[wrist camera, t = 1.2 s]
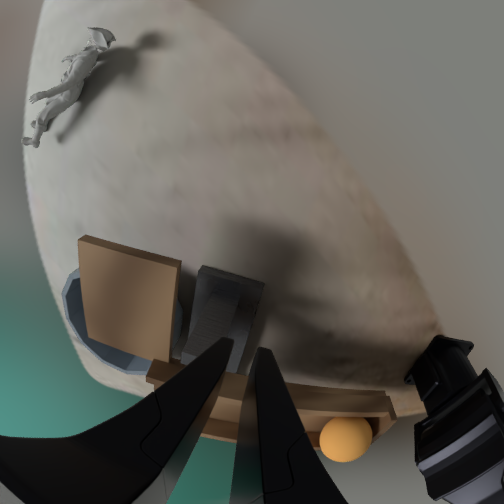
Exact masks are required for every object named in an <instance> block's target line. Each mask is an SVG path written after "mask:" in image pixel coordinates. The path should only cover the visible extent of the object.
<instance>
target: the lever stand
mask: <svg viewBox="0 0 504 504" xmlns="http://www.w3.org/2000/svg"><path fill="white" fill-rule="evenodd" d="M263 287H264V283H262V282H258V281H255V280H251V279H248V278H244V277H241V276H237V275H234V274H230V273H227V272H224V271H220V270H217V269H213V268H210V267H207V266H203V265H202V266H201V268H200V269H199V270H198V276H197V282H196V288H195V294H194V301H193V307H192V314H191V321H190V328H189V335H188V340H187V342H186V344H185V346H184V348H183V350H182V354H181V363H182V364H184V365H188V364H189V363H190V362H191V361H193V360H194V359H195V358H196V357H198V356H199V355H200V354H201V353H203V352H204V351H205V350H206V349H207V348H209V347H210V346H211V345H212V344H214V343H215V342H216V341H217V340H218V339H220V338H221V337H223V336H224V337H228V338H231V339H234V345H233V349H232V352H231V356H230V359H229V363H228V366H227V369H226V372H231V373H236V372H237V369H238V366H239V363H240V360H241V357H242V354H243V351H244V348H245V345H246V342H247V339H248V335H249V332H250V329H251V326H252V323H253V320H254V317H255V314H256V310H257V307H258V304H259V301H260V298H261V294H262V291H263ZM198 440H199V439H198ZM197 442H198V441H197Z"/></svg>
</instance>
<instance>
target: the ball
mask: <svg viewBox="0 0 504 504" xmlns="http://www.w3.org/2000/svg"><path fill="white" fill-rule="evenodd" d="M371 441H372V429H371V426H370V424H369V423H368V422H367V421H366V420H365V419H364V418H363V417H335V418H333V419H332V420H330V421H329V422H328V423H327V424H326V425H325V426H324V428H323V430H322V432H321V434H320V447H321V450H322V451H323V453H324V454H325V455H326V456H327V457H328V458H330V459H331V460H334V461H338V462H348V461H352V460H355V459H357V458H358V457H360V456H362V455H363V454H364V453H365V452H366V451H367V449H368V448H369V446H370V444H371Z"/></svg>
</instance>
